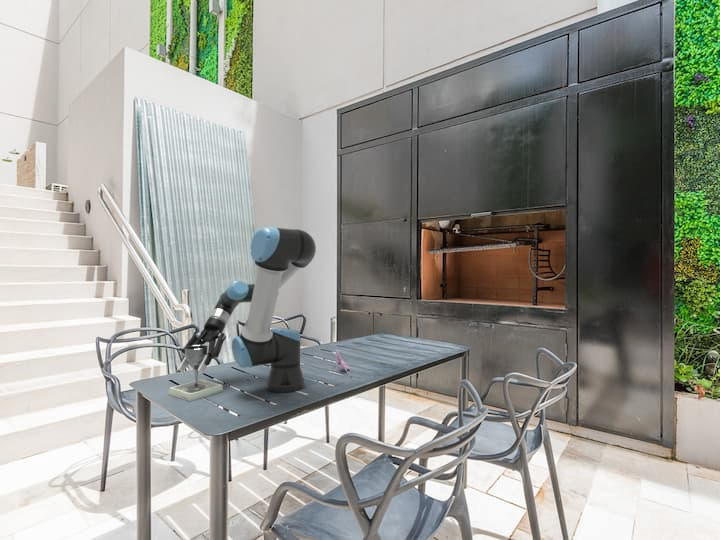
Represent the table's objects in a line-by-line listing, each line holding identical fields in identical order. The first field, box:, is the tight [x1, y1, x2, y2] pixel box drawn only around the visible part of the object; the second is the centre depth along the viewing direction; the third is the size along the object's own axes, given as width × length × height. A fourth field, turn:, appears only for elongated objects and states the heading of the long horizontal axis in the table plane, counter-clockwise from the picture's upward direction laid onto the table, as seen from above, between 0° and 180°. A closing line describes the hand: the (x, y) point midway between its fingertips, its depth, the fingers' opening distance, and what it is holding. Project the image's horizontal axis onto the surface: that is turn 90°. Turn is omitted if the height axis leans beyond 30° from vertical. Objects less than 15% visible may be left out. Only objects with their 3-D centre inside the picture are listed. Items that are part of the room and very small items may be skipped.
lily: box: [331, 348, 350, 374], centre depth 179 cm, size 12×12×10 cm
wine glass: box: [184, 344, 209, 389], centre depth 148 cm, size 8×8×15 cm
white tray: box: [168, 379, 224, 402], centre depth 148 cm, size 14×14×2 cm
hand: (190, 371), depth 144 cm, fingers closed on wine glass, 8 cm apart
